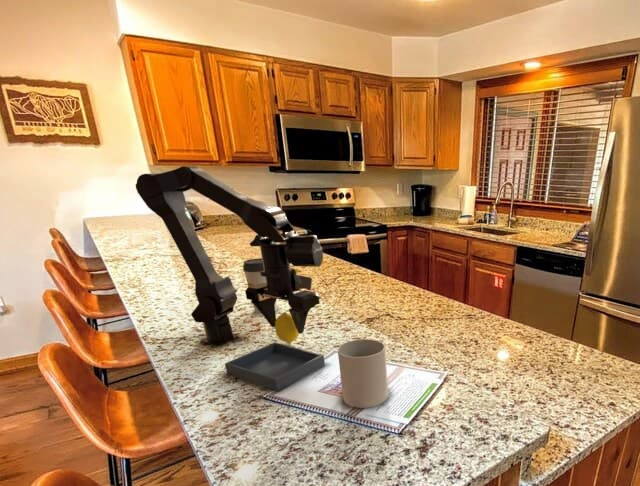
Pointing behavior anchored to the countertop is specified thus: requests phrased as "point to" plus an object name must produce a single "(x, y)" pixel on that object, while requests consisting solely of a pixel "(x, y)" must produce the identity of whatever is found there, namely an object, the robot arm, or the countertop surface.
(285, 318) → the lemon
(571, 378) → the countertop surface
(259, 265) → the coffee cup
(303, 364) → the tray
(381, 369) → the cup
